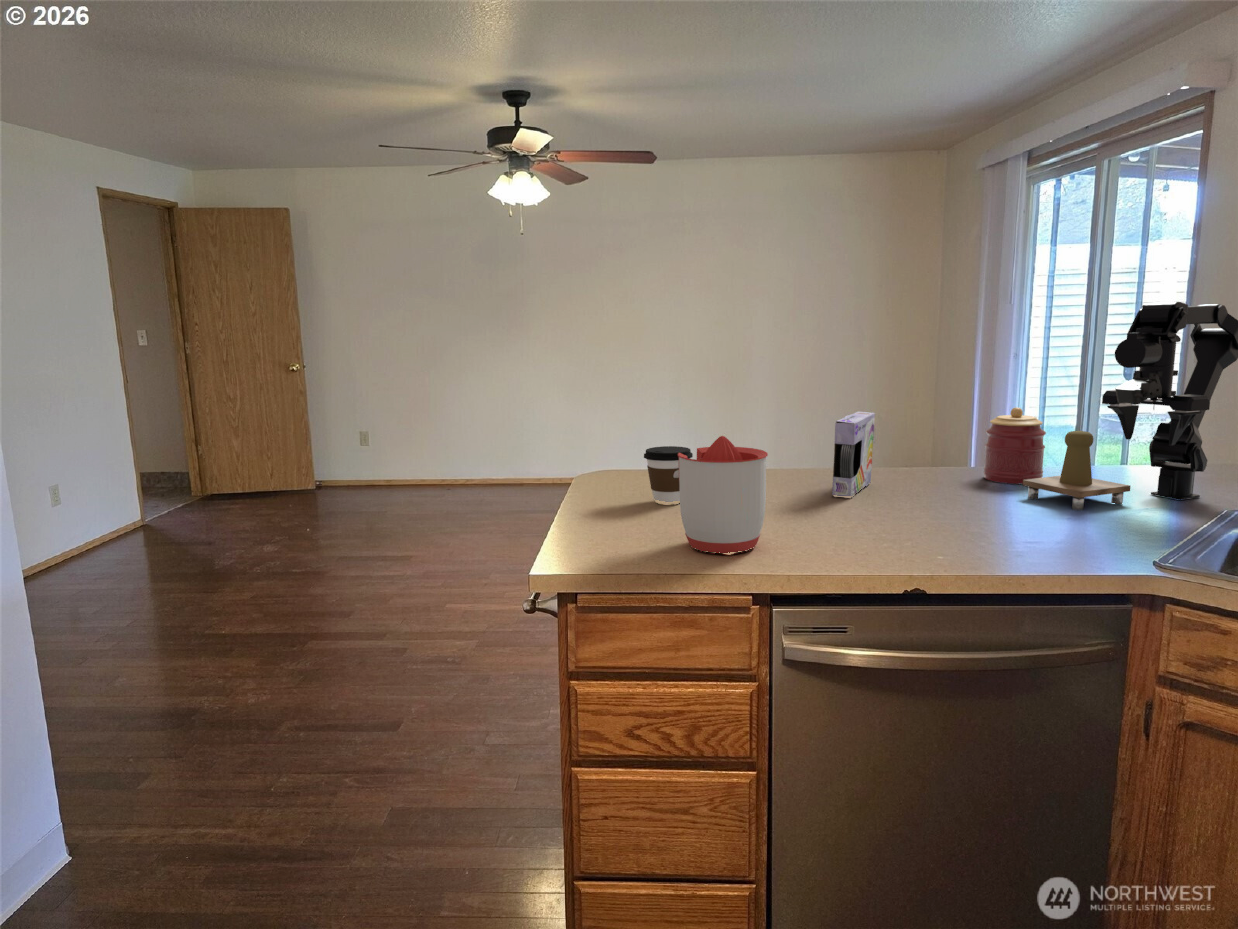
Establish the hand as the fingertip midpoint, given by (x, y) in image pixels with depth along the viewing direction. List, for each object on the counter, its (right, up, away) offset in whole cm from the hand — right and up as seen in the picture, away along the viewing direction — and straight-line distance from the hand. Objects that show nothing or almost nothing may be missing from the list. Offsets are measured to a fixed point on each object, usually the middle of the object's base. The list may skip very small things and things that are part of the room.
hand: (1149, 442), depth 160 cm
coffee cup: (-98, -13, +15) cm, 100 cm away
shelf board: (-12, -10, +6) cm, 16 cm away
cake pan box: (-55, -11, +22) cm, 60 cm away
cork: (-12, -9, +6) cm, 16 cm away
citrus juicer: (-91, -19, -21) cm, 95 cm away
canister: (-13, -9, +30) cm, 34 cm away
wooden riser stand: (-12, -12, +6) cm, 18 cm away
